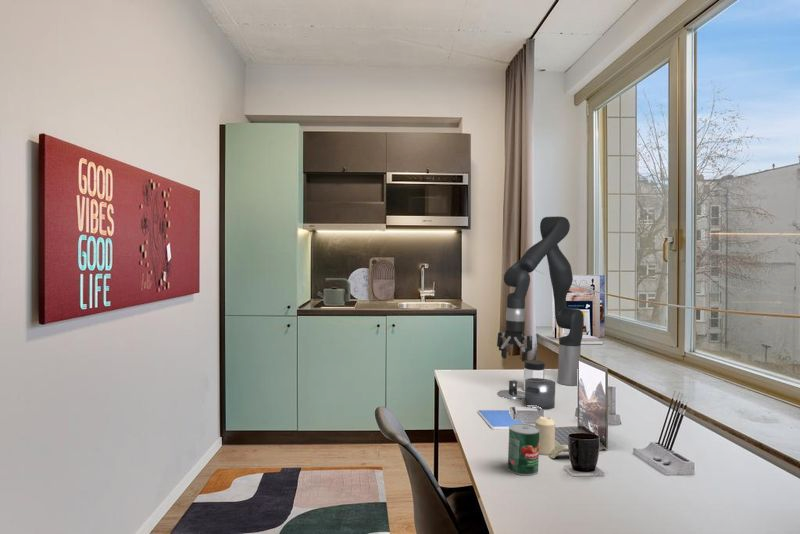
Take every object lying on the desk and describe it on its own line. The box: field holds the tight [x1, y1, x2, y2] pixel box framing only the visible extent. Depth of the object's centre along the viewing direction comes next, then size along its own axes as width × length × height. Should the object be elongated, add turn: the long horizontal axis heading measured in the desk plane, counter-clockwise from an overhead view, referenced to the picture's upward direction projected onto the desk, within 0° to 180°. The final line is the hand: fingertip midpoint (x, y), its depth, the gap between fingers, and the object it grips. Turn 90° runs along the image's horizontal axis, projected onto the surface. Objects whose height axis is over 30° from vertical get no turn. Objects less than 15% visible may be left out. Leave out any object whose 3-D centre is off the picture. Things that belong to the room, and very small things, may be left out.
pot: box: [524, 378, 556, 411], centre depth 202 cm, size 15×11×9 cm
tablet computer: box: [477, 409, 526, 430], centre depth 184 cm, size 19×13×1 cm, turn 6°
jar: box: [523, 359, 546, 392], centre depth 224 cm, size 9×8×12 cm
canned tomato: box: [507, 423, 540, 477], centre depth 142 cm, size 8×8×11 cm
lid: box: [497, 380, 525, 400], centre depth 216 cm, size 12×12×6 cm
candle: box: [534, 416, 556, 456], centre depth 155 cm, size 6×6×10 cm
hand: (513, 359), depth 215 cm, fingers open, 8 cm apart
